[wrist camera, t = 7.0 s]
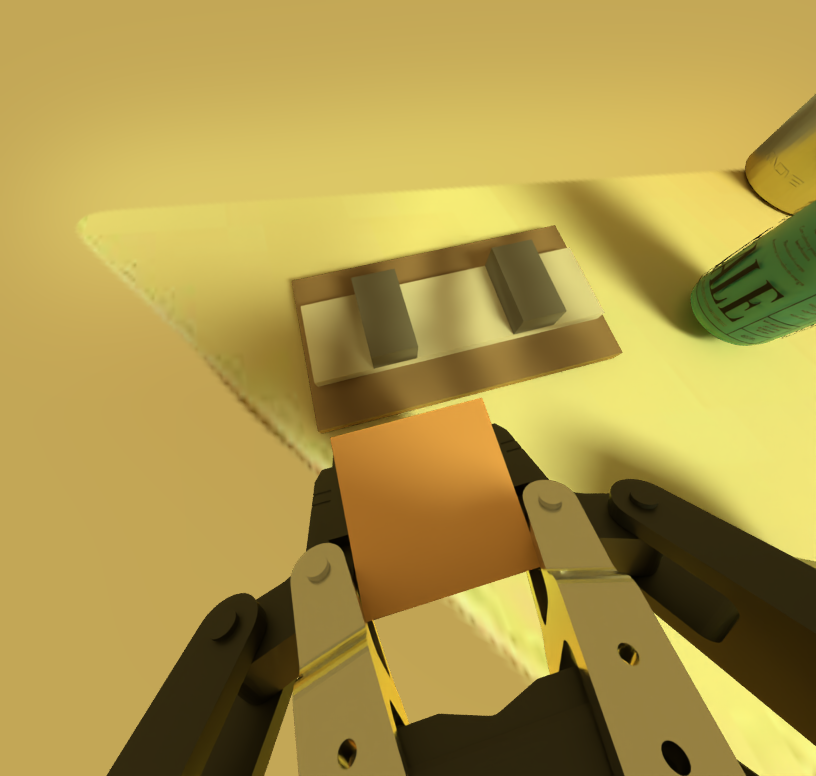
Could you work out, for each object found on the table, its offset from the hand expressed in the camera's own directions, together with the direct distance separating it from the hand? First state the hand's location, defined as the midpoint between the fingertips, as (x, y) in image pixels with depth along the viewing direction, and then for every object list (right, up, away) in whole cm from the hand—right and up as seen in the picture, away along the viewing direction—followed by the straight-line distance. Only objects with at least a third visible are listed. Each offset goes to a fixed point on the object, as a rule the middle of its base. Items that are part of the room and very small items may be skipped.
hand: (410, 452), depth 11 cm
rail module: (0, -3, +5) cm, 6 cm away
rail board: (+3, +7, +12) cm, 14 cm away
